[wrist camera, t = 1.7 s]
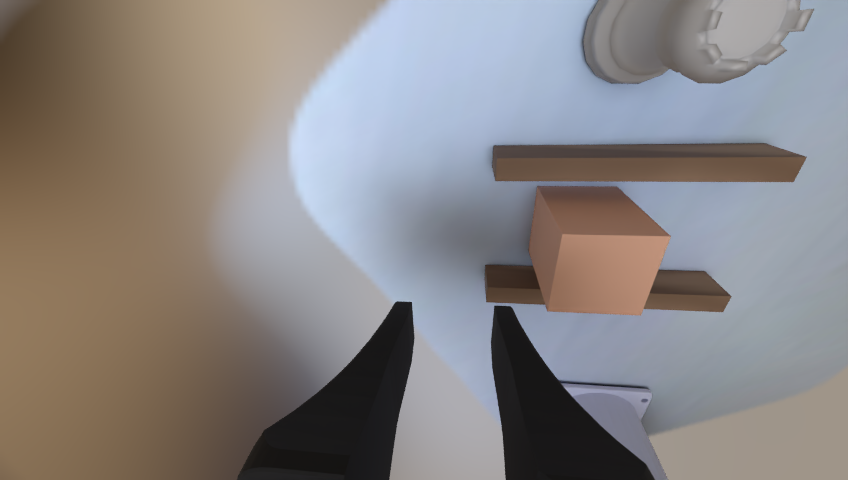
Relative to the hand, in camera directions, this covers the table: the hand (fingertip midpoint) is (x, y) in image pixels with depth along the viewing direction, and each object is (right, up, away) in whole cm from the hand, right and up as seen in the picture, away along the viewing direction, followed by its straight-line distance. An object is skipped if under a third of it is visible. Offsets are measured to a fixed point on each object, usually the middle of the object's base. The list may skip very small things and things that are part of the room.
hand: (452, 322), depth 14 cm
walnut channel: (+10, +5, +7) cm, 13 cm away
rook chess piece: (+9, +13, +2) cm, 16 cm away
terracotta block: (+8, +5, +7) cm, 12 cm away
